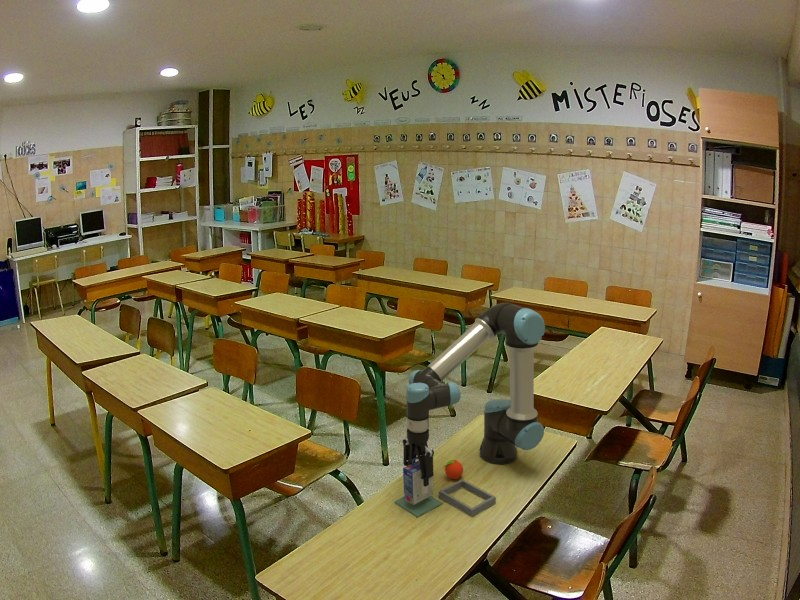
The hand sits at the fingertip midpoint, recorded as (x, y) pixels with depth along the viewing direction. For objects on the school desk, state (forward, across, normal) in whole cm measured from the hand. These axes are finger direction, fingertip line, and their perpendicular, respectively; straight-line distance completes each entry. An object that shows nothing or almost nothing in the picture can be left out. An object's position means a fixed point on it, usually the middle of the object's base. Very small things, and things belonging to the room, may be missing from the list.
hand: (418, 489), depth 213 cm
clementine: (+6, -4, +21) cm, 22 cm away
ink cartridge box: (+3, 0, 0) cm, 3 cm away
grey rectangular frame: (+5, +10, +14) cm, 18 cm away
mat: (+5, 0, 0) cm, 5 cm away
